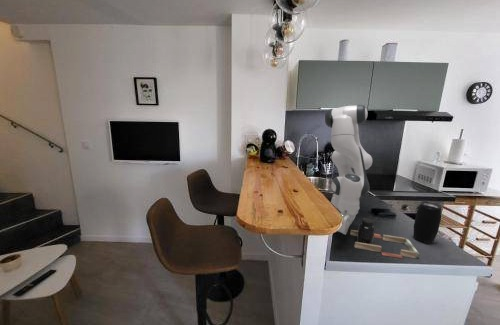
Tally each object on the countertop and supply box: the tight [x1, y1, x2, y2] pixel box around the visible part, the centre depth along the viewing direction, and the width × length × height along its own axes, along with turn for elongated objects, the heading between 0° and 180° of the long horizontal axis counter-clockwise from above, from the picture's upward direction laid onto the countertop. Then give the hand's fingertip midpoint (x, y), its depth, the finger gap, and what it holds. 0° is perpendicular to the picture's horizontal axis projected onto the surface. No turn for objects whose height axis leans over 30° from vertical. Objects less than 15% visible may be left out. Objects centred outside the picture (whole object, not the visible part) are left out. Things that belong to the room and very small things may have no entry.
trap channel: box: [350, 229, 420, 260], centre depth 102 cm, size 18×26×2 cm
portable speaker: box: [413, 200, 442, 245], centre depth 105 cm, size 9×9×20 cm
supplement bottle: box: [356, 217, 376, 245], centre depth 102 cm, size 7×7×12 cm
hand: (344, 233), depth 105 cm, fingers closed
